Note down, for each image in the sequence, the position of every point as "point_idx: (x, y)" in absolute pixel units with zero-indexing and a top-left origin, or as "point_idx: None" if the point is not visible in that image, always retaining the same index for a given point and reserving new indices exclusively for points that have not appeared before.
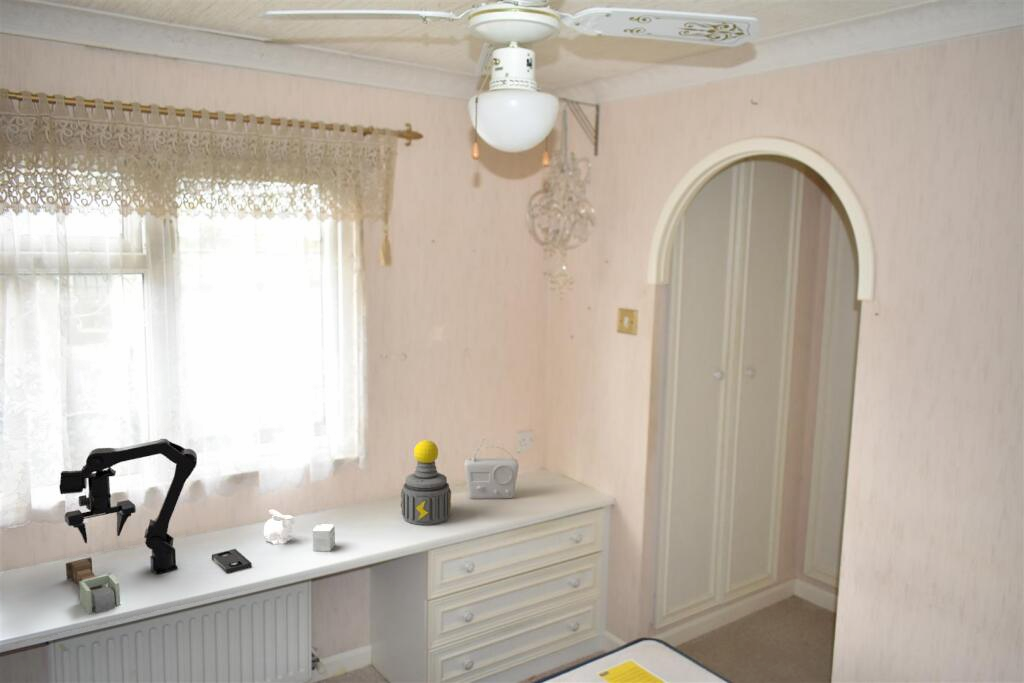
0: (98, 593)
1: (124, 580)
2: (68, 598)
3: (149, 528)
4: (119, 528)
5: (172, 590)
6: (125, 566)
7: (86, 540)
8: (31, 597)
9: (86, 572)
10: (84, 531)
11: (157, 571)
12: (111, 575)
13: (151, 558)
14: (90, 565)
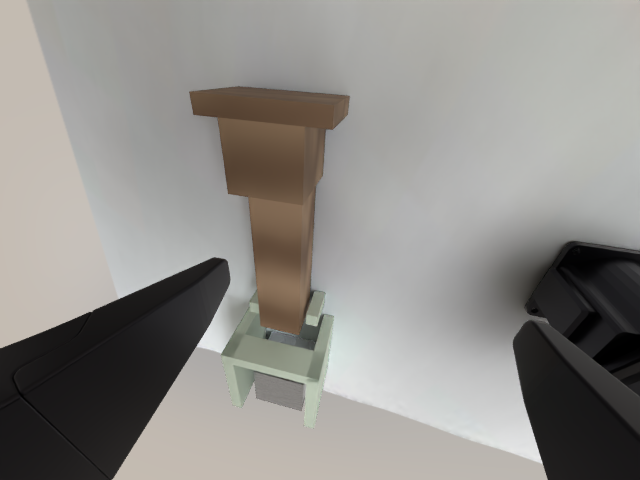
0: (267, 393)
1: (412, 264)
2: (231, 253)
3: None
4: (547, 476)
5: (459, 398)
6: (518, 126)
7: (212, 310)
8: (131, 163)
9: (281, 227)
10: (118, 442)
11: (537, 305)
12: (314, 391)
13: (567, 322)
14: (304, 201)
